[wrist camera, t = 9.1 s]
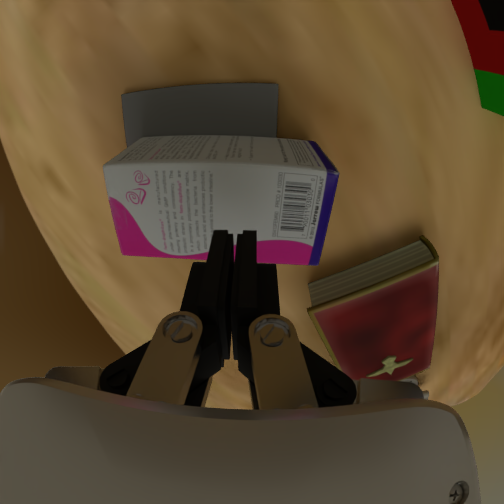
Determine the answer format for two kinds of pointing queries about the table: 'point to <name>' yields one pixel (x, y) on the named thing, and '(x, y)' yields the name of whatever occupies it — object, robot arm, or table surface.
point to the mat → (202, 111)
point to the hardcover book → (380, 313)
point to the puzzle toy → (485, 47)
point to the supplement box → (221, 196)
